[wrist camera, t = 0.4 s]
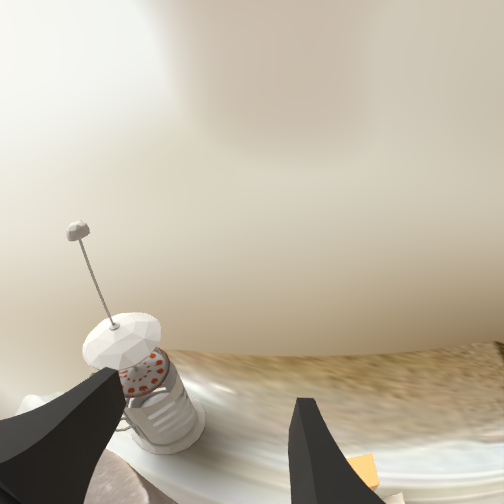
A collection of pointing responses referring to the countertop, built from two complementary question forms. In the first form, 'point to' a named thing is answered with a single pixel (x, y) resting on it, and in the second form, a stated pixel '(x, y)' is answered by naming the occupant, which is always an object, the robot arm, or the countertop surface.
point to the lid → (372, 476)
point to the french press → (143, 376)
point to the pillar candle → (121, 484)
